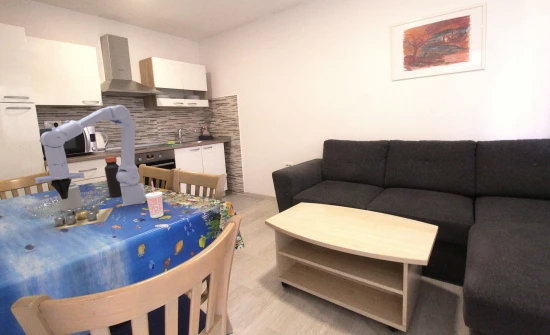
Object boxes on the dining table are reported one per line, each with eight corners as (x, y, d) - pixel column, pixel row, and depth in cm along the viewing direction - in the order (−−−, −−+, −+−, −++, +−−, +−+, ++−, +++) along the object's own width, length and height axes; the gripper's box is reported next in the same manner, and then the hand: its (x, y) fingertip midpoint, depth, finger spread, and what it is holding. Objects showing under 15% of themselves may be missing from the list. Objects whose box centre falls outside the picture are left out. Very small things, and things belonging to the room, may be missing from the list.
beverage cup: (161, 211, 109) (156, 178, 106) (167, 215, 105) (163, 180, 102) (146, 216, 105) (140, 181, 102) (152, 219, 101) (146, 184, 98)
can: (71, 213, 113) (66, 186, 111) (57, 213, 115) (51, 186, 112) (87, 207, 120) (82, 181, 118) (73, 207, 122) (68, 181, 120)
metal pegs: (102, 210, 113) (101, 203, 112) (95, 220, 101) (94, 213, 100) (66, 216, 108) (64, 209, 108) (53, 228, 96) (52, 220, 96)
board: (113, 208, 116) (113, 207, 116) (105, 222, 101) (105, 220, 100) (69, 215, 110) (69, 214, 110) (53, 231, 95) (53, 229, 95)
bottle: (106, 197, 135) (99, 158, 131) (116, 193, 141) (109, 156, 138) (118, 197, 134) (111, 158, 130) (127, 193, 140) (121, 156, 136)
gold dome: (91, 215, 108) (90, 209, 107) (88, 218, 104) (87, 212, 103) (78, 217, 106) (77, 211, 106) (75, 221, 102) (73, 215, 102)
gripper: (28, 167, 93) (36, 204, 95) (77, 163, 98) (84, 198, 101) (36, 164, 99) (44, 199, 102) (82, 160, 104) (89, 193, 107)
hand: (65, 198), depth 102 cm, fingers closed
